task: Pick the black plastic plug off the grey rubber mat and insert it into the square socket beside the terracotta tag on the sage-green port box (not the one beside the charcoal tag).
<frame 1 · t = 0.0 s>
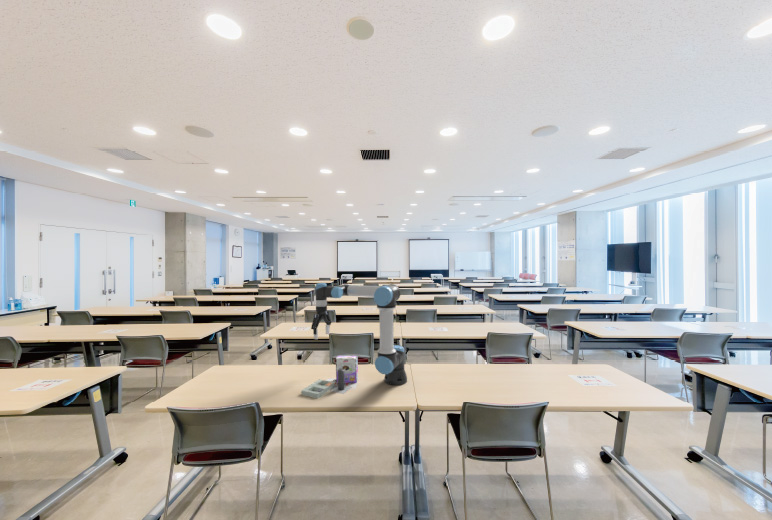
hand: (321, 336, 218), 28 cm above the table, fingers open, 13 cm apart
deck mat: (341, 389, 197), on the table
candy box: (347, 381, 210), on the table
plug: (341, 379, 197), on the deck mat
port box: (318, 391, 196), on the table
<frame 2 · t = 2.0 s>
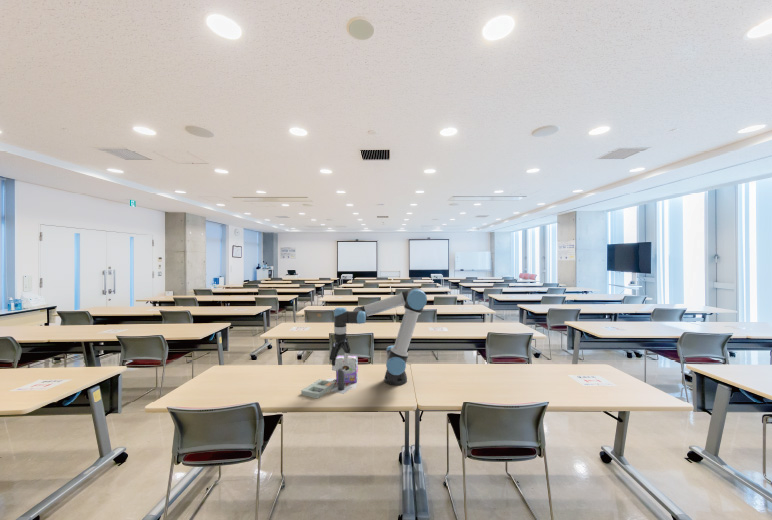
hand: (340, 366, 197), 14 cm above the table, fingers open, 13 cm apart
nothing on the table moved.
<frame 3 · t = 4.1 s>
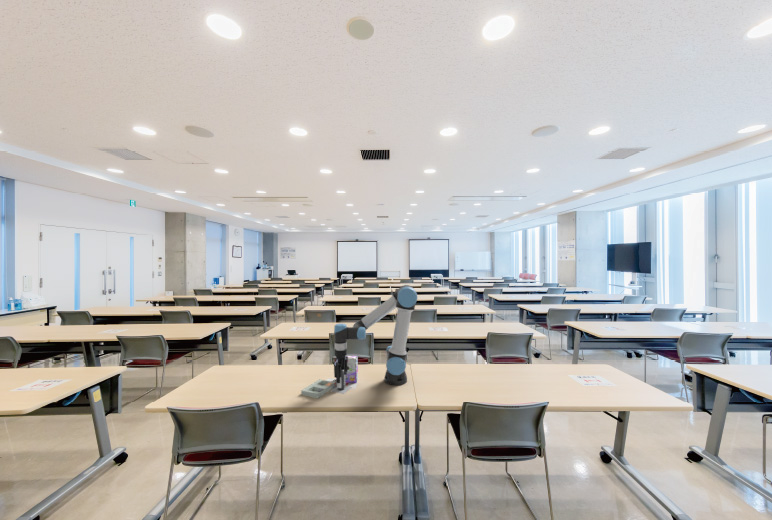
hand: (341, 386, 197), 2 cm above the table, fingers closed on plug, 4 cm apart
plug: (341, 379, 197), on the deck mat, touching gripper
everything else where it was.
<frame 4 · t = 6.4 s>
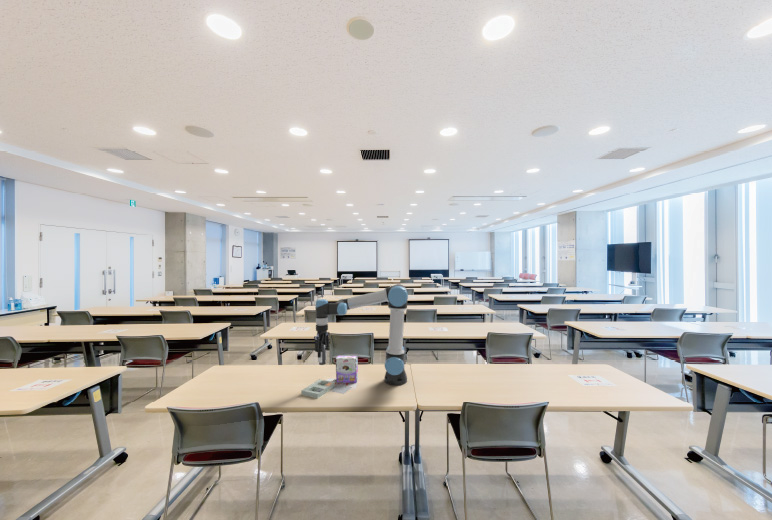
hand: (322, 360, 200), 17 cm above the table, fingers closed on plug, 4 cm apart
plug: (322, 354, 200), point 22 cm above the table, touching gripper
everything else where it was.
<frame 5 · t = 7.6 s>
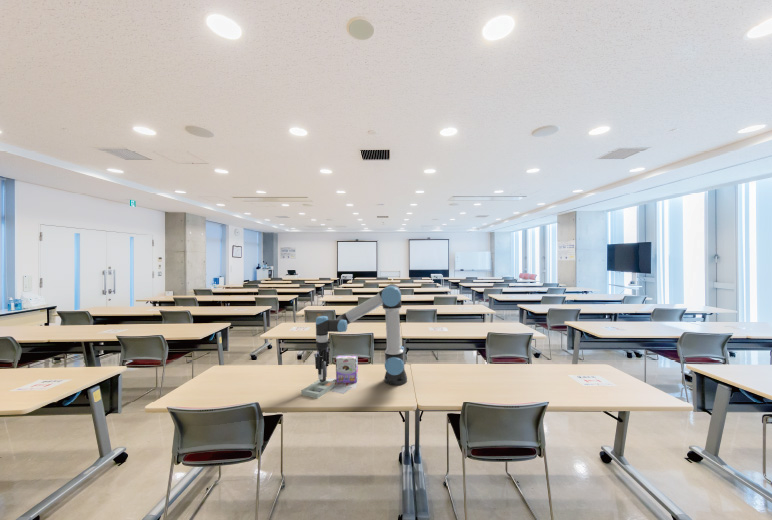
hand: (322, 377, 200), 7 cm above the table, fingers closed on plug, 4 cm apart
plug: (322, 371, 200), point 11 cm above the table, touching gripper
everything else where it was.
when the fingers open (4 cm above the table, at t = 8.7 s): plug stays where it is, resting in port box.
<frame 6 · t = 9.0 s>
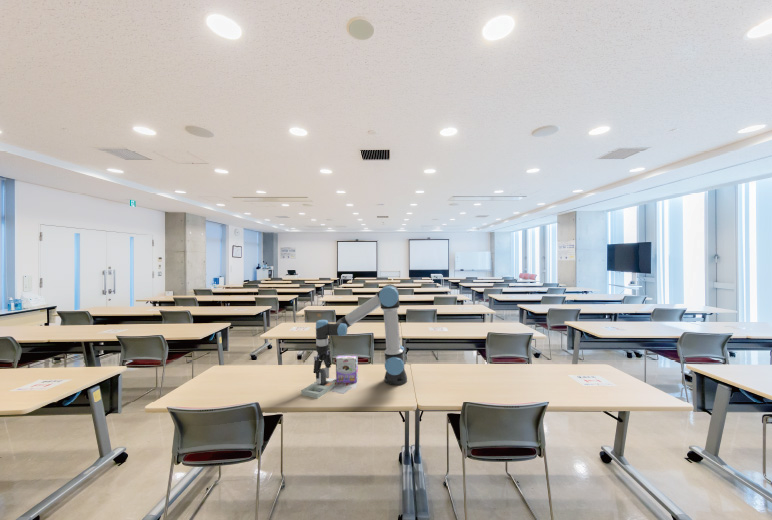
hand: (322, 380, 200), 5 cm above the table, fingers open, 8 cm apart
plug: (322, 378, 200), in the port box
everything else where it was.
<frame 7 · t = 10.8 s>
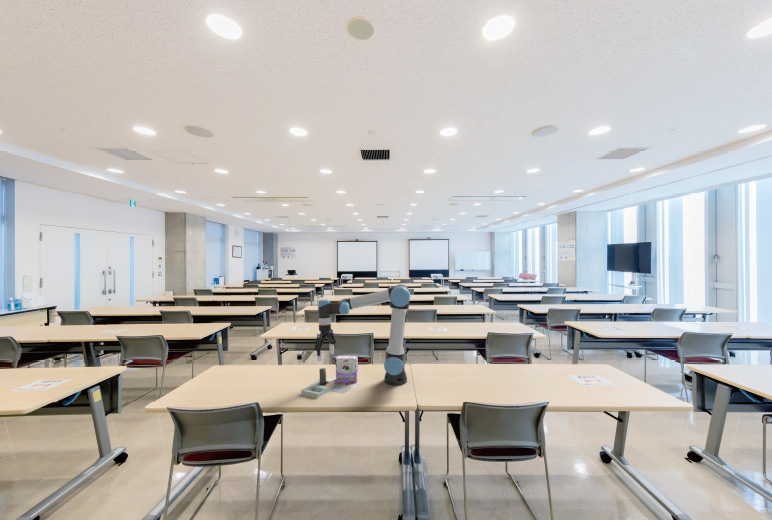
hand: (326, 357, 201), 19 cm above the table, fingers open, 13 cm apart
nothing on the table moved.
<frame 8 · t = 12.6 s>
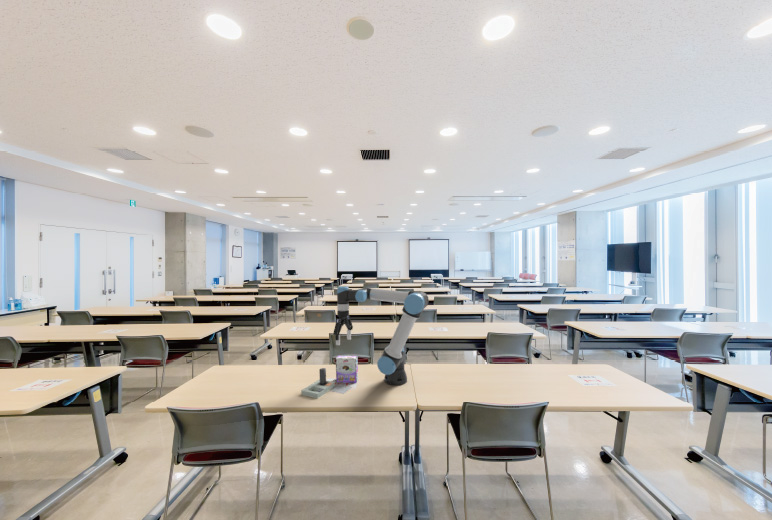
hand: (343, 342, 208), 27 cm above the table, fingers open, 13 cm apart
nothing on the table moved.
at the end: plug 0.0 cm from the target spot on the port box, point 6.0 cm above the port box's base; plug tilted 0°; the gripper is holding nothing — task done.
